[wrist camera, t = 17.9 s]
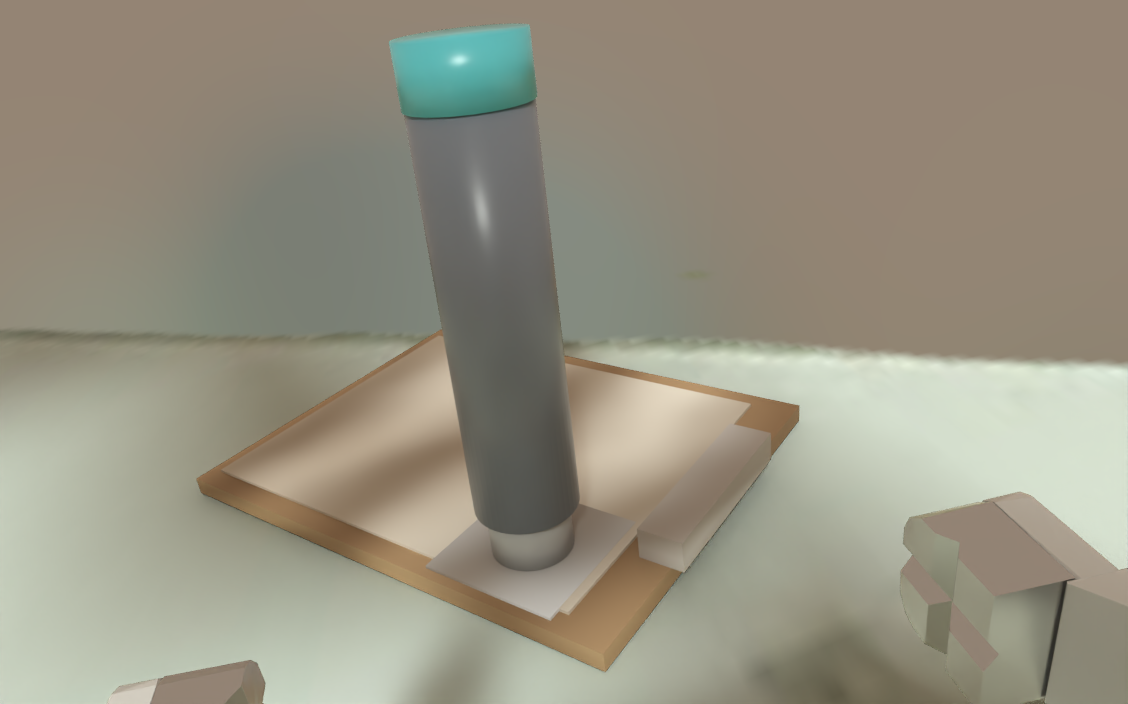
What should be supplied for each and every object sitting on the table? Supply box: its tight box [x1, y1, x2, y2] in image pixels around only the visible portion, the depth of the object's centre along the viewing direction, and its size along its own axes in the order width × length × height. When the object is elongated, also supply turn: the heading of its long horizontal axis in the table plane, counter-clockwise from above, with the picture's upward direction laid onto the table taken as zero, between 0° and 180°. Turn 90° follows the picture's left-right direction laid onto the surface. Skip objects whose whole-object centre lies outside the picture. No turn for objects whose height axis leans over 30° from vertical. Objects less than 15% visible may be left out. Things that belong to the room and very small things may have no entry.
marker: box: [389, 24, 580, 571], centre depth 22 cm, size 3×3×14 cm
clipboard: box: [197, 330, 799, 672], centre depth 30 cm, size 17×13×2 cm
